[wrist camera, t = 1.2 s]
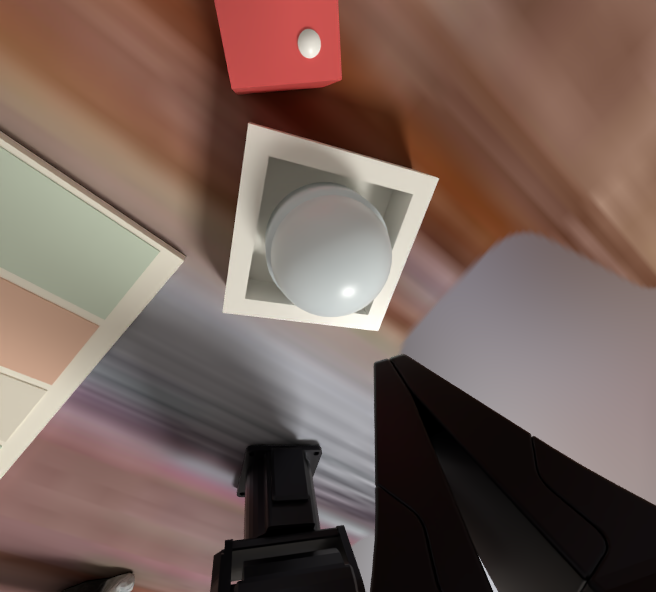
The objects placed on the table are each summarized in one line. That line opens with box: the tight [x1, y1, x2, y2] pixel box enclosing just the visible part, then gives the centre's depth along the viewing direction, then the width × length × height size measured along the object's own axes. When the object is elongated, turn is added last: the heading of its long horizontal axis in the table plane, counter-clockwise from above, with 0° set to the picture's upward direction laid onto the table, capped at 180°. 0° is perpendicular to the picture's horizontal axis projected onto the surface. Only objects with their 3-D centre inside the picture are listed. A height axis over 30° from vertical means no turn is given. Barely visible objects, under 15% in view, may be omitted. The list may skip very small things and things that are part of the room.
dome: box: [265, 182, 392, 317], centre depth 15 cm, size 6×6×6 cm
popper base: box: [222, 122, 439, 331], centre depth 17 cm, size 9×9×3 cm
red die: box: [214, 0, 342, 95], centre depth 12 cm, size 4×4×4 cm
